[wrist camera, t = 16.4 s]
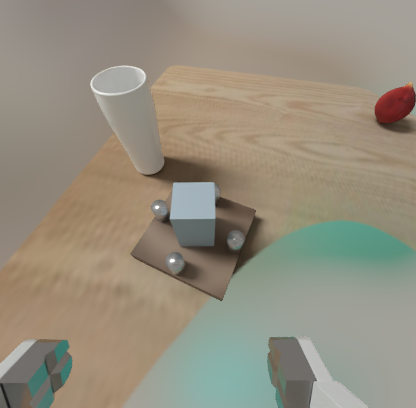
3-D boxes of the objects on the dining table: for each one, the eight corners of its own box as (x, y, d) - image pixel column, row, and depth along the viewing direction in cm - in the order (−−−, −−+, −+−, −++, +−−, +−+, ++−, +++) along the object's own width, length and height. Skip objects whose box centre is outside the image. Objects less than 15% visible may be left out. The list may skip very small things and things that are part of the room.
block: (182, 216, 29) (173, 182, 22) (213, 216, 29) (214, 182, 22) (180, 246, 27) (169, 219, 20) (214, 246, 27) (215, 218, 20)
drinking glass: (169, 150, 39) (149, 63, 26) (168, 178, 35) (144, 93, 22) (134, 152, 38) (96, 66, 26) (129, 180, 35) (82, 96, 22)
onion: (401, 125, 42) (439, 86, 35) (383, 134, 40) (418, 96, 34) (377, 110, 44) (407, 71, 38) (359, 119, 43) (387, 80, 36)
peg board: (179, 188, 34) (175, 168, 30) (253, 216, 31) (260, 199, 27) (135, 258, 28) (121, 246, 24) (221, 301, 25) (224, 296, 21)
